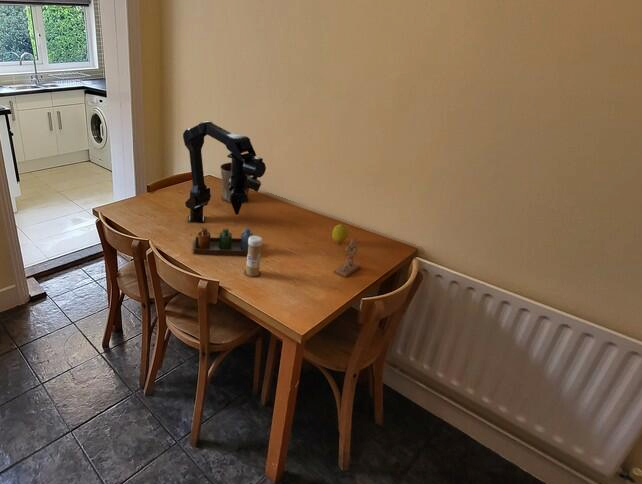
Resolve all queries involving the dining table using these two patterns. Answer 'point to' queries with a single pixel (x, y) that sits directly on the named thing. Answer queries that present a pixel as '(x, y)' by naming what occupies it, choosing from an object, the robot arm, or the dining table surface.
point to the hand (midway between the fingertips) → (236, 209)
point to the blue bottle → (245, 238)
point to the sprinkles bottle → (254, 255)
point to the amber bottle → (204, 239)
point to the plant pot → (225, 181)
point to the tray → (216, 250)
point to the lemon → (340, 233)
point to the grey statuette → (349, 266)
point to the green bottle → (225, 240)
